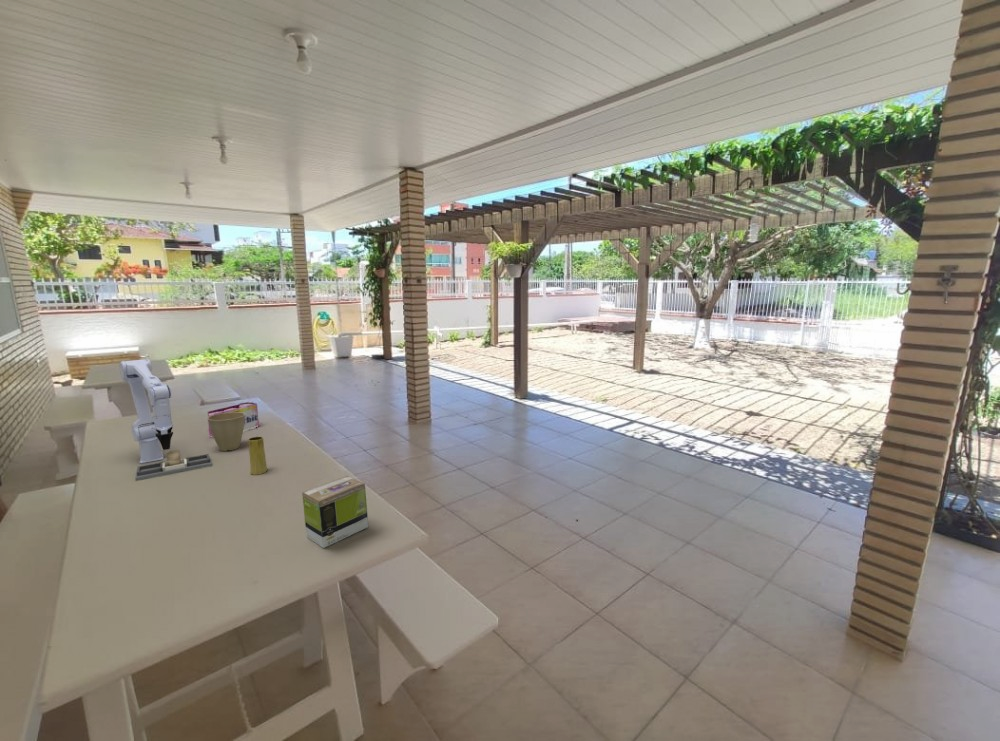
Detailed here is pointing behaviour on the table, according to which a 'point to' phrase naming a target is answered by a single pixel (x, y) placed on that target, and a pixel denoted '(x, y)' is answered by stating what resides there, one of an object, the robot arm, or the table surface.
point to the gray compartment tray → (172, 467)
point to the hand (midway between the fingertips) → (166, 446)
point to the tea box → (335, 510)
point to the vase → (257, 455)
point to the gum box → (246, 408)
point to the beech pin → (173, 458)
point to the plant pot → (227, 429)
